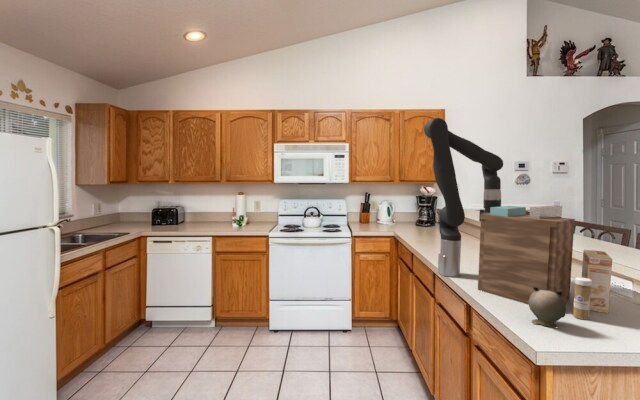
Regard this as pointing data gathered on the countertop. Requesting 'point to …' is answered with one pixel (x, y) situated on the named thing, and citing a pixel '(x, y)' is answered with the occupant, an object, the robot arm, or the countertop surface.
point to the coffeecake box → (598, 278)
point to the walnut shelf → (525, 255)
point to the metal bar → (545, 211)
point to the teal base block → (507, 211)
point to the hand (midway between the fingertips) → (492, 232)
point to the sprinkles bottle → (582, 298)
